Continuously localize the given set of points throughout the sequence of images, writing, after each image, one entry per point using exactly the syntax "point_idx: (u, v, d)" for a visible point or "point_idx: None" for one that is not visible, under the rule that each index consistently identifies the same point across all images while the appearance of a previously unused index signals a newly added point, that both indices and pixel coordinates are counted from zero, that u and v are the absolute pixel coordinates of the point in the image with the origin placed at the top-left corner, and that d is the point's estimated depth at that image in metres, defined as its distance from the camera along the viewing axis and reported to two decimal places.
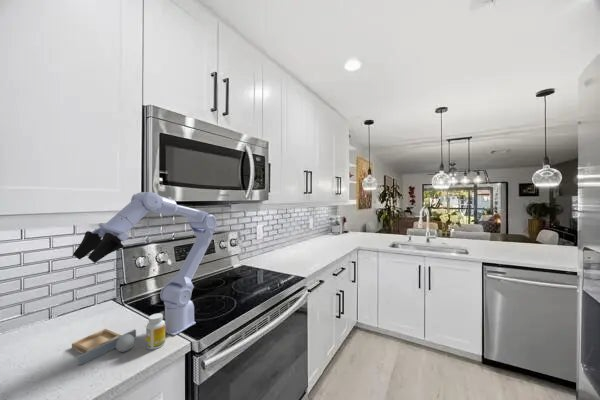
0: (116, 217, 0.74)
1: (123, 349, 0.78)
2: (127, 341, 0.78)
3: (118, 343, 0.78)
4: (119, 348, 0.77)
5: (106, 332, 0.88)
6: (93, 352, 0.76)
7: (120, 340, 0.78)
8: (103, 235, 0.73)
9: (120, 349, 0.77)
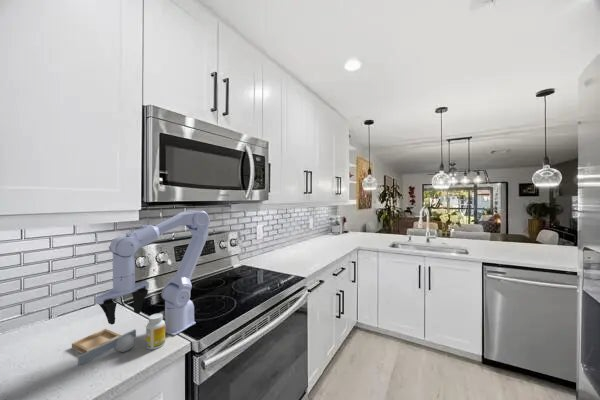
0: None
1: (123, 349, 0.78)
2: (127, 341, 0.78)
3: (118, 343, 0.78)
4: (119, 348, 0.77)
5: (106, 332, 0.88)
6: (93, 352, 0.76)
7: (120, 340, 0.78)
8: None
9: (120, 349, 0.77)
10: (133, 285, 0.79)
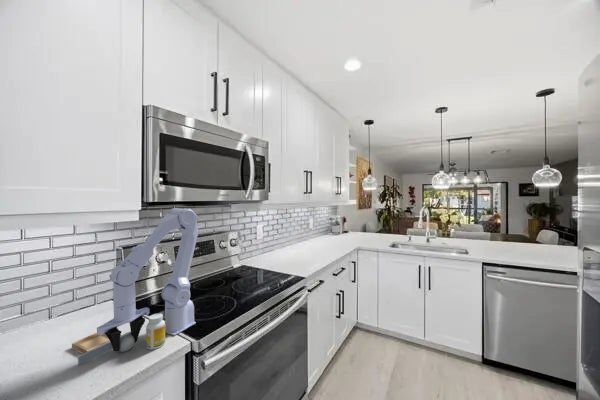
0: None
1: (123, 349, 0.78)
2: (127, 341, 0.78)
3: None
4: None
5: None
6: (93, 352, 0.76)
7: (120, 340, 0.78)
8: None
9: (120, 349, 0.77)
10: (134, 313, 0.80)
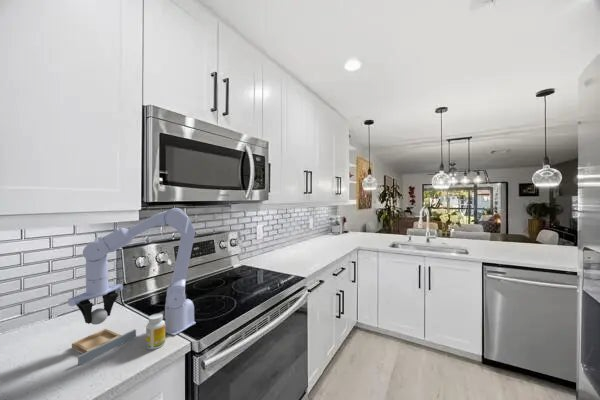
0: None
1: (95, 321, 0.81)
2: (100, 314, 0.81)
3: None
4: None
5: (106, 332, 0.88)
6: (93, 352, 0.76)
7: (93, 313, 0.81)
8: None
9: (92, 321, 0.80)
10: (106, 287, 0.83)
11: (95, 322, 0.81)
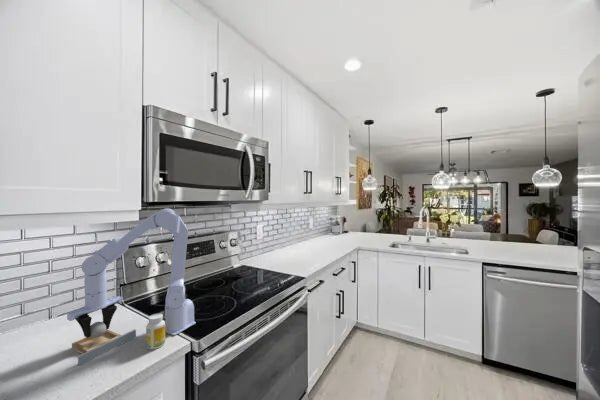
0: None
1: (94, 335, 0.81)
2: (99, 328, 0.82)
3: None
4: (90, 334, 0.81)
5: (106, 332, 0.88)
6: (93, 352, 0.76)
7: (91, 327, 0.81)
8: None
9: (91, 335, 0.81)
10: (105, 301, 0.83)
11: (94, 336, 0.81)
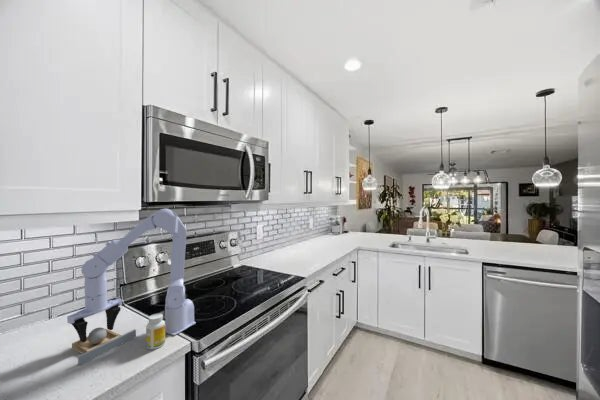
0: None
1: (94, 341, 0.81)
2: (99, 334, 0.82)
3: (90, 335, 0.81)
4: (90, 340, 0.81)
5: None
6: (93, 352, 0.76)
7: (92, 333, 0.81)
8: None
9: (91, 341, 0.81)
10: (105, 304, 0.83)
11: (94, 342, 0.81)
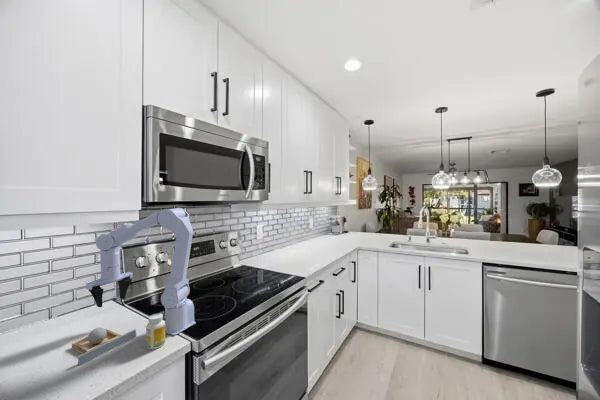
0: None
1: (94, 341, 0.81)
2: (99, 334, 0.82)
3: (90, 335, 0.81)
4: (91, 340, 0.81)
5: None
6: (93, 352, 0.76)
7: (92, 332, 0.82)
8: (114, 280, 0.95)
9: (91, 341, 0.81)
10: (118, 274, 0.93)
11: (94, 342, 0.81)
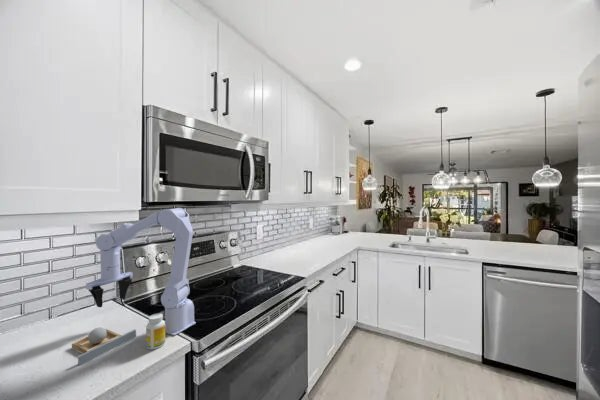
0: None
1: (94, 341, 0.81)
2: (99, 334, 0.82)
3: (90, 335, 0.81)
4: (91, 340, 0.81)
5: None
6: (93, 352, 0.76)
7: (92, 332, 0.82)
8: (114, 280, 0.95)
9: (91, 341, 0.81)
10: (118, 274, 0.93)
11: (94, 341, 0.81)
